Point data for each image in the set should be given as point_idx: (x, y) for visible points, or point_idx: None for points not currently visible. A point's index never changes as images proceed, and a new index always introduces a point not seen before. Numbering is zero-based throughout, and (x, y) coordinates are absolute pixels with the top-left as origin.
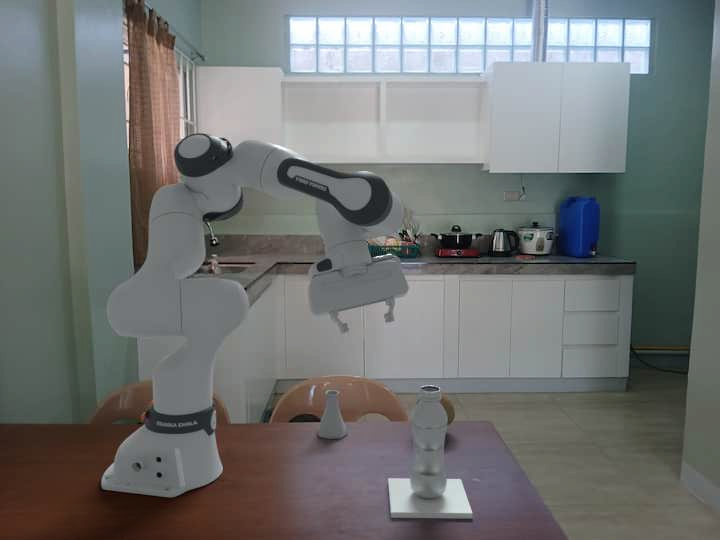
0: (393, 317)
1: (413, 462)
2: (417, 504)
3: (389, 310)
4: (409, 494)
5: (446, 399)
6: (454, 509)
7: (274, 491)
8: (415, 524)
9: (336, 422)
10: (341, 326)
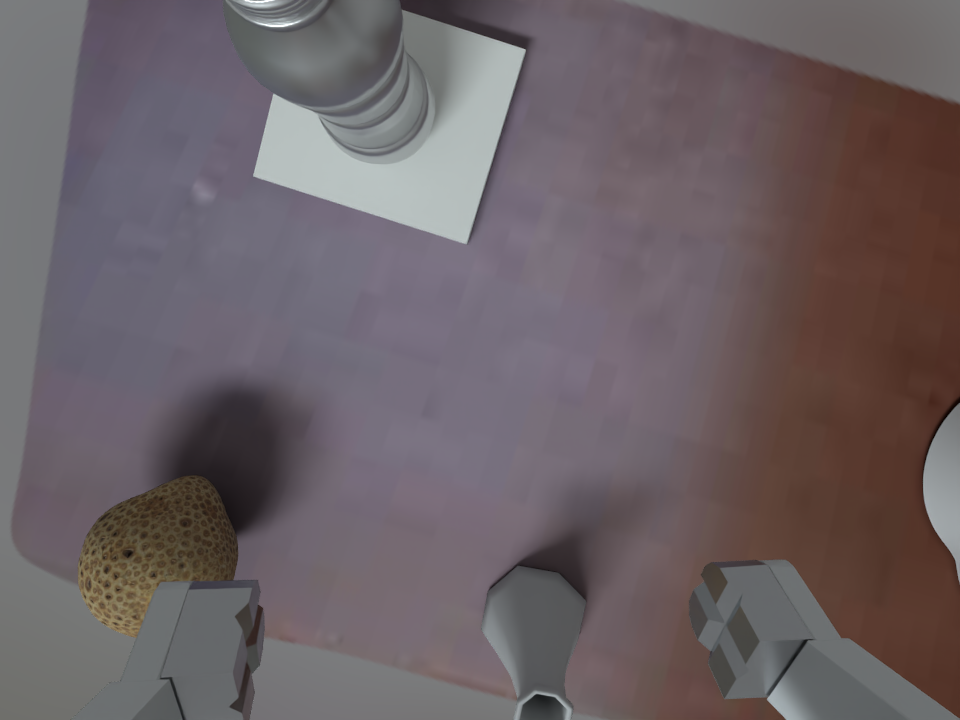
0: (155, 603)
1: (417, 92)
2: (437, 69)
3: (146, 718)
4: (438, 131)
5: (94, 553)
6: None
7: (801, 292)
8: (471, 3)
9: (530, 609)
10: (813, 607)
